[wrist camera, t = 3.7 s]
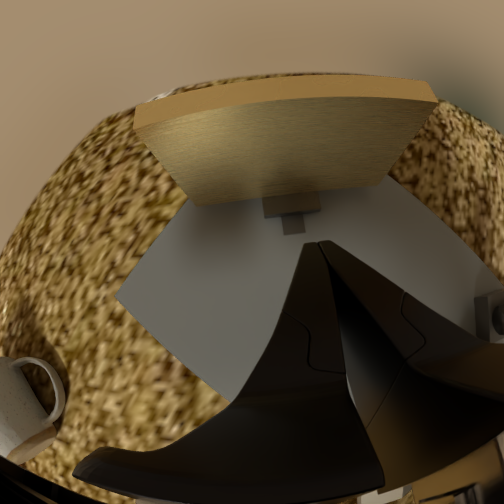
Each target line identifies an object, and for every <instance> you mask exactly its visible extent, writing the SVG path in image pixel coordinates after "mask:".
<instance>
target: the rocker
mask: <svg viewBox="0 0 504 504" xmlns="http://www.w3.org/2000/svg"><path fill="white" fill-rule="evenodd" d="M402 494H403V487H401V488H398V489H395V490H392V491H389V492H386V493H383V494H380V495H378V493H377V490H376V491H373V492H370V493H368V494H365V495H362V496H359V497H357V504H385V503H389V502H392V501H395V500H398V499H400V498H402Z"/></svg>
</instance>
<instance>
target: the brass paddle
mask: <svg viewBox="0 0 504 504" xmlns="http://www.w3.org/2000/svg"><path fill="white" fill-rule="evenodd" d="M438 103H439V102H438V101H437V99H436V97H435V95H434V93H433V91H432V90H431V88H430V86H429V85H428V83H427V82H425V81H419V80H411V79H403V78H392V77H382V76H366V75H304V76H288V77H276V78H266V79H257V80H249V81H242V82H236V83H229V84H223V85H218V86H212V87H207V88H202V89H198V90H193V91H189V92H184V93H180V94H176V95H172V96H168V97H165V98H161V99H157V100H154V101H150V102H147V103H144V104H140V105H137V106H136V111H135V118H134V125H133V130H134V131H135V132H136V133H137V135H138V136H139V137H140V138H141V140H142V141H143V142H144V143H145V145H146V146H147V147H148V148H149V150H150V151H151V152H152V153H153V154H154V156H155V157H156V158H157V159H158V161H159V162H160V163H161V164H162V166H163V167H164V168H165V169H166V170H167V172H168V173H169V174H170V175H171V177H172V178H173V179H174V180H175V182H176V183H177V184H178V185H179V186H180V188H181V189H182V190H183V191H184V192H185V194H186V195H187V196H188V197H189V199H190V200H191V201H192V202H193V203H194V205H195V206H196V207H200V206H206V205H213V204H219V203H226V202H232V201H239V200H246V199H254V198H261V197H262V204H263V212H264V219H267V218H275V217H283V216H291V215H300V214H308V213H317V212H320V211H321V204H320V199H319V194H318V191H321V190H331V189H342V188H354V187H366V186H378V185H379V183H380V182H381V181H382V179H383V178H384V177H385V176H386V174H387V173H388V172H389V170H390V169H391V168H392V166H393V165H394V164H395V163H396V161H397V160H398V159H399V157H400V156H401V155H402V153H403V152H404V151H405V149H406V148H407V146H408V145H409V144H410V142H411V141H412V140H413V138H414V137H415V135H416V134H417V133H418V131H419V130H420V129H421V127H422V126H423V124H424V123H425V121H426V120H427V119H428V117H429V116H430V114H431V113H432V111H433V110H434V109H435V107H436V106H437V104H438Z"/></svg>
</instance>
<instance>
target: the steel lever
mask: <svg viewBox="0 0 504 504" xmlns="http://www.w3.org/2000/svg"><path fill="white" fill-rule="evenodd" d="M492 323H493V327H494V329H495V331H496V332H497V333H498V334H499V335H504V303H503V304H501V305H498V306H497V307H496V308H495V309H494V311H493V315H492Z"/></svg>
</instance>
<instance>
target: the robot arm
mask: <svg viewBox="0 0 504 504" xmlns="http://www.w3.org/2000/svg"><path fill="white" fill-rule="evenodd" d="M404 292H405V291H404V290H403V289H402V288H401V287H399V286H398V285H396V284H395V283H393V282H392V281H391V280H389V279H388V278H386V277H385V276H383V275H382V274H381V273H379V272H378V271H376V270H375V269H373V268H372V267H370V266H369V265H367V264H366V263H364V262H363V261H361V260H360V259H358V258H357V257H355V256H354V255H352V254H351V253H349V252H348V251H346V250H345V249H343V248H342V247H340V246H339V245H337V244H336V243H334V242H333V241H331V240H324V241H318V242H309V243H304V244H303V246H302V250H301V253H300V256H299V259H298V262H297V265H296V268H295V272H294V275H293V278H292V281H291V284H290V287H289V290H288V293H287V296H286V299H285V302H284V305H283V308H282V311H281V313H280V316H279V319H278V321H277V324H276V327H275V329H274V331H273V334H272V336H271V338H270V340H269V342H268V344H267V346H266V348H265V350H264V352H263V354H262V355H261V357H260V359H259V360H258V362H257V364H256V366H255V367H254V369H253V371H252V372H251V374H250V376H249V377H248V379H247V381H246V382H245V384H244V386H243V387H242V389H241V390H240V392H239V394H238V395H237V396H236V398H235V399H234V400H233V401H232V402H231V403H230V404H229V405H228V406H227V407H226V408H225V409H224V410H222V411H221V412H219V413H218V414H217V415H215V416H214V417H212V418H211V419H209V420H208V421H206V422H205V423H203V424H202V425H200V426H199V427H197V428H196V429H194V430H193V431H191V432H190V433H188V434H187V435H185V436H183V437H182V438H180V439H179V440H177V441H175V442H174V443H172V444H170V445H168V446H166V447H164V448H161V449H157V450H154V451H146V452H139V451H130V450H125V449H120V448H114V447H106V446H105V447H99V448H98V449H96V450H95V451H93V452H92V453H90V454H89V455H88V456H86V457H85V458H84V459H83V460H82V461H80V462H79V464H78V465H77V466H76V467H75V469H74V471H73V473H72V476H73V477H75V478H77V479H79V480H81V481H84V482H86V483H89V484H91V485H94V486H97V487H99V488H102V489H105V490H108V491H111V492H114V493H117V494H120V495H124V496H127V497H131V498H134V499H136V501H135V504H337V503H341V502H344V501H347V500H350V499H353V498H356V497H359V496H362V495H365V494H368V493H370V492H373V491H376V490H377V493H378V495H380V494H383V493H386V492H389V491H392V490H395V489H398V488H401V487H404V486H407V485H409V484H411V487H412V492H413V497H414V503H415V504H504V343H491V342H487V341H484V340H482V339H479V338H478V337H476V336H474V335H473V334H471V333H469V332H468V331H466V330H465V329H463V328H461V327H460V326H458V325H457V324H455V323H453V322H452V321H450V320H448V319H447V318H445V317H443V316H442V315H440V314H439V313H437V312H436V311H434V310H432V309H431V308H429V307H428V306H426V305H425V304H423V303H422V302H420V301H419V300H418V299H416V298H415V297H413V296H412V295H411V294H409V293H408V292H405V293H404ZM346 374H347V376H346ZM347 378H348V381H349V384H350V388H351V391H352V395H353V398H354V402H355V405H356V407H355V405H354V402H353V400H352V398H351V395H350V392H349V388H348V383H347ZM0 504H107V503H104V502H101V501H98V500H95V499H93V498H90V497H87V496H85V495H82V494H80V493H77V492H75V491H72V490H70V489H68V488H65V487H63V486H61V485H58V484H56V483H54V482H52V481H50V480H47V479H45V478H43V477H41V476H39V475H37V474H35V473H33V472H31V471H29V470H27V469H25V468H23V467H21V466H19V465H17V464H15V463H14V462H12V461H10V460H8V459H7V458H5V457H3V456H2V455H0Z"/></svg>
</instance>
